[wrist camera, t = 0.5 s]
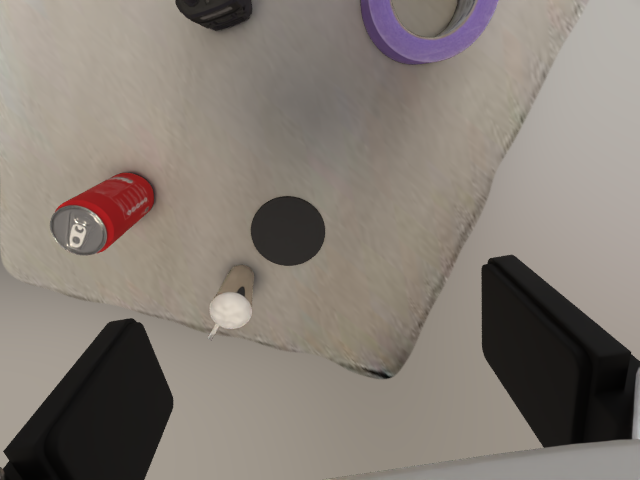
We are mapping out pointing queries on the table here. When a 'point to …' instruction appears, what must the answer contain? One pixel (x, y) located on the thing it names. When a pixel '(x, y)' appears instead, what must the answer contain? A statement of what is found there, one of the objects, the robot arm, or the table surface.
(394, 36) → the tape roll
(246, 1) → the two-way radio
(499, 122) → the table surface
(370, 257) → the table surface
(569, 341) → the robot arm
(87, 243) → the beverage can
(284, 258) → the coaster
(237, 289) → the milkshake
